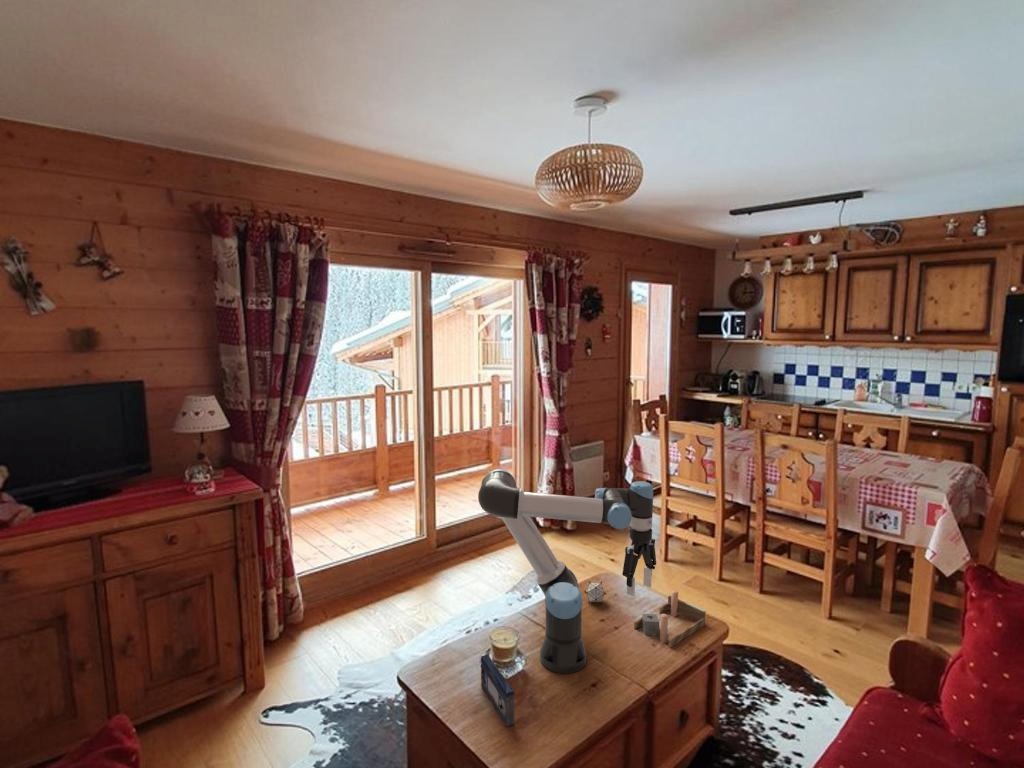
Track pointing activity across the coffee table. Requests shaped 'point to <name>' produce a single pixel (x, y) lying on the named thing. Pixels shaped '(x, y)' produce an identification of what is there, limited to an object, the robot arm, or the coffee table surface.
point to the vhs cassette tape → (497, 690)
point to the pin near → (664, 628)
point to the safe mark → (695, 607)
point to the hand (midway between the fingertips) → (639, 590)
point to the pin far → (674, 603)
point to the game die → (595, 592)
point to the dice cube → (650, 624)
